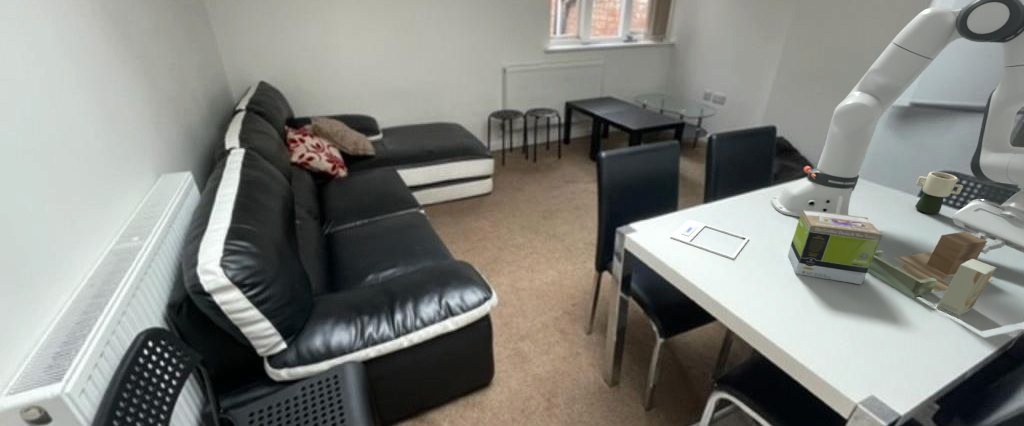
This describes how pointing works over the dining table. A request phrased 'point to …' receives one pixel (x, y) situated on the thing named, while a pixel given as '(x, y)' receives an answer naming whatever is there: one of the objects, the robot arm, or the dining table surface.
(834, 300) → the dining table surface
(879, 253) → the wooden slotted tray
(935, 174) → the cream and green cup
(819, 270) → the tea box
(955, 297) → the skincare box
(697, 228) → the photo frame
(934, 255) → the walnut block
